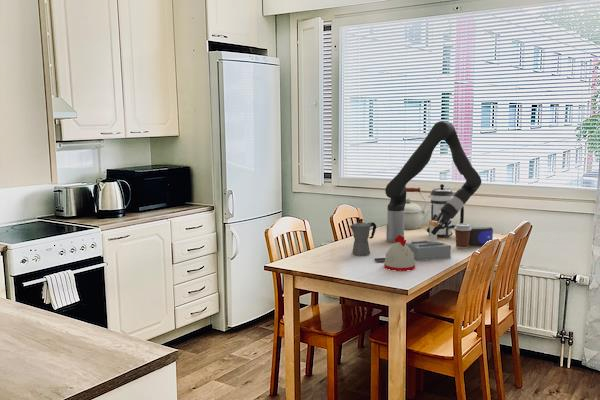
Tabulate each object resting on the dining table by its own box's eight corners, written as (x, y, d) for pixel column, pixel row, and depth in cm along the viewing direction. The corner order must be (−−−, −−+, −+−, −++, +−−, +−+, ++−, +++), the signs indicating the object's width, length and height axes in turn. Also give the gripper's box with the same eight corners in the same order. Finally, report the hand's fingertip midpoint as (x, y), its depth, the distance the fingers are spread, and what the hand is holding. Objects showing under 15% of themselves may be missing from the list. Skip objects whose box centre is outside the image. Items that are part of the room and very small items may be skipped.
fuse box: (435, 251, 293) (435, 238, 292) (450, 257, 280) (451, 243, 279) (403, 254, 288) (404, 240, 287) (417, 260, 274) (418, 246, 273)
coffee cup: (456, 244, 308) (457, 222, 306) (473, 246, 303) (474, 224, 301) (450, 247, 301) (451, 225, 299) (467, 249, 295) (468, 227, 294)
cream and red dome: (395, 272, 254) (395, 239, 252) (378, 265, 266) (379, 234, 264) (421, 269, 259) (421, 236, 257) (404, 262, 272) (404, 231, 270)
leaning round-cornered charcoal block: (465, 246, 303) (466, 229, 302) (462, 244, 307) (462, 227, 306) (495, 245, 305) (495, 228, 303) (491, 243, 309) (492, 226, 308)
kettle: (389, 229, 351) (390, 189, 348) (390, 224, 369) (390, 185, 366) (431, 230, 347) (432, 189, 344) (429, 224, 365) (430, 186, 362)
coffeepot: (354, 257, 282) (354, 221, 280) (345, 253, 291) (345, 218, 288) (381, 254, 289) (381, 218, 286) (371, 250, 297) (371, 216, 295)
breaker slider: (433, 241, 287) (434, 220, 285) (439, 243, 282) (440, 221, 280) (426, 242, 286) (427, 220, 284) (432, 244, 280) (432, 222, 279)
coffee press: (435, 239, 322) (437, 186, 317) (423, 233, 337) (424, 183, 333) (463, 237, 326) (465, 185, 321) (450, 232, 341) (451, 182, 337)
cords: (376, 262, 272) (376, 260, 271) (374, 260, 276) (374, 258, 275) (410, 261, 274) (410, 258, 274) (407, 258, 278) (407, 256, 278)
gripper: (440, 200, 290) (418, 225, 288) (455, 204, 276) (433, 230, 275) (449, 210, 292) (427, 235, 290) (465, 214, 279) (442, 240, 277)
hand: (430, 232), depth 282 cm, fingers closed on breaker slider, 4 cm apart
